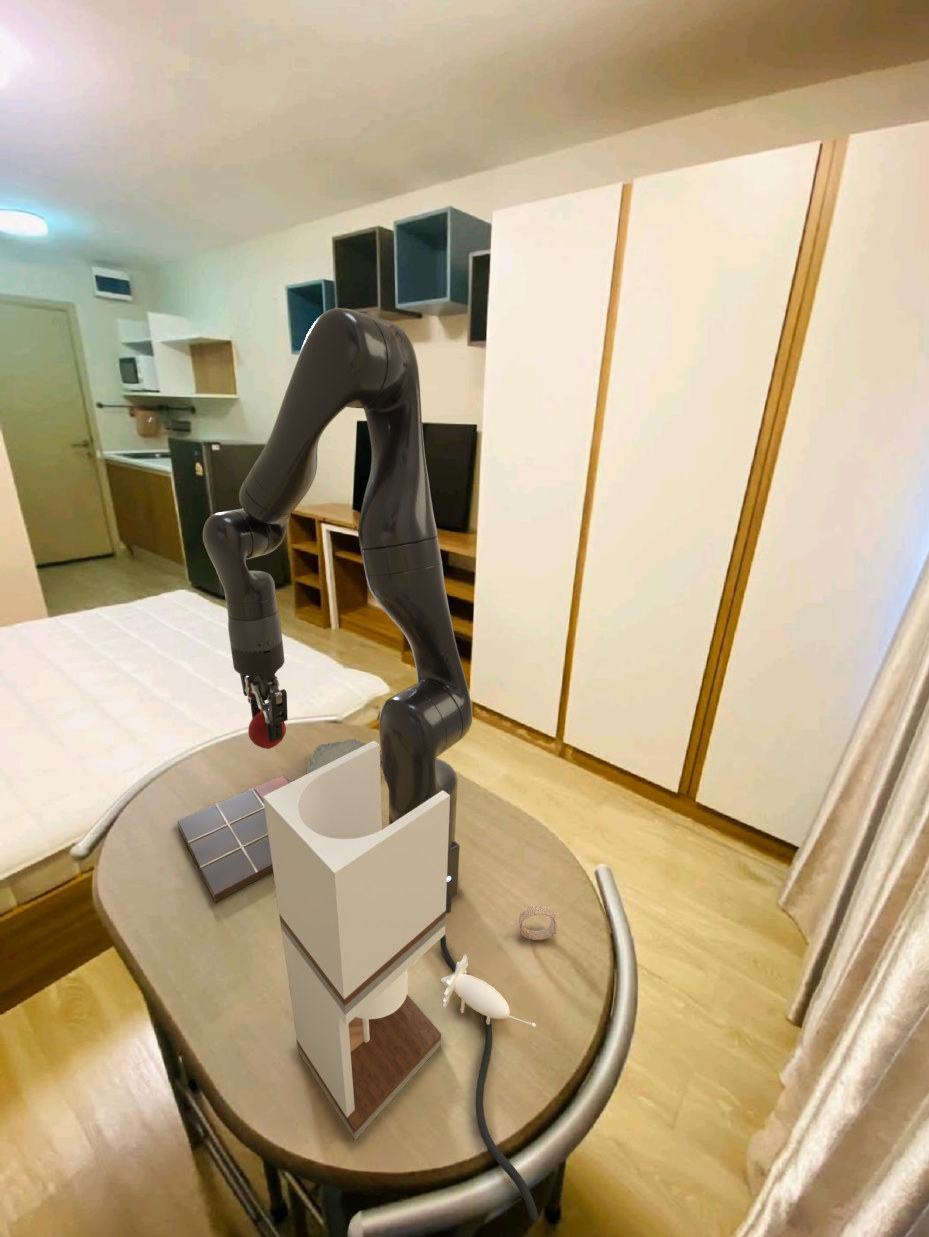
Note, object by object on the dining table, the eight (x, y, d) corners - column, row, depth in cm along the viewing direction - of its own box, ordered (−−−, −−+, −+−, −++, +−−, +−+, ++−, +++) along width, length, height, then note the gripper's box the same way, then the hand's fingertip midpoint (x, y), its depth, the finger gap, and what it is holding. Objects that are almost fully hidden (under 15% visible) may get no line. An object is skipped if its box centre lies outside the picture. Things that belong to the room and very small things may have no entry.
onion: (291, 737, 91) (287, 698, 88) (281, 758, 85) (277, 717, 82) (257, 737, 90) (252, 697, 87) (246, 758, 85) (239, 717, 82)
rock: (282, 776, 97) (280, 755, 95) (349, 739, 109) (349, 720, 107) (322, 806, 90) (321, 784, 89) (389, 763, 102) (389, 743, 101)
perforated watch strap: (554, 945, 69) (558, 918, 67) (518, 944, 69) (521, 918, 67) (551, 926, 71) (554, 900, 69) (516, 925, 71) (519, 899, 69)
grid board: (332, 839, 84) (331, 831, 83) (215, 903, 73) (213, 894, 72) (284, 781, 96) (283, 773, 95) (178, 827, 85) (176, 819, 84)
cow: (430, 1007, 61) (431, 981, 59) (454, 969, 65) (455, 943, 64) (523, 1071, 56) (527, 1044, 54) (542, 1025, 60) (547, 998, 58)
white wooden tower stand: (355, 1140, 50) (334, 873, 37) (297, 1050, 57) (263, 796, 43) (440, 1045, 58) (449, 795, 44) (381, 975, 64) (374, 740, 51)
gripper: (215, 629, 83) (229, 718, 89) (249, 663, 73) (262, 760, 79) (262, 618, 87) (272, 704, 94) (300, 649, 78) (308, 742, 84)
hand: (267, 729), depth 87 cm, fingers closed on onion, 6 cm apart
